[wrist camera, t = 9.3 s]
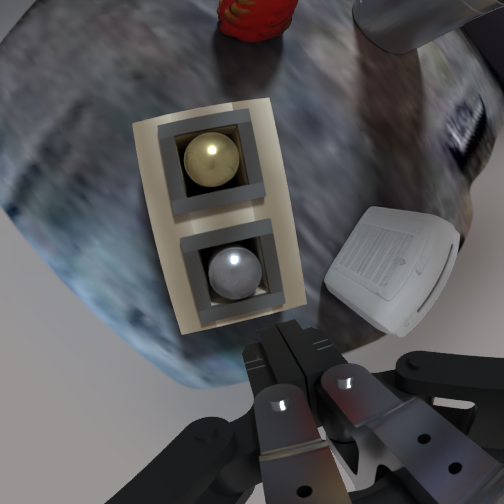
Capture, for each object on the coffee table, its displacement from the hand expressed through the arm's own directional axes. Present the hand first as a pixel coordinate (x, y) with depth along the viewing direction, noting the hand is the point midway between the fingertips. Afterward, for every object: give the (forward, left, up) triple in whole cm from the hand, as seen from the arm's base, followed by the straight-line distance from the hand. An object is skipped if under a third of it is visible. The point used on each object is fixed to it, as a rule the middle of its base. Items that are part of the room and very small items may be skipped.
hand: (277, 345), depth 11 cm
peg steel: (0, 0, -17) cm, 17 cm away
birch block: (0, -4, -17) cm, 18 cm away
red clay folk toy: (-7, -23, -17) cm, 30 cm away
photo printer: (-13, +3, -17) cm, 22 cm away
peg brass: (0, -8, -17) cm, 19 cm away
